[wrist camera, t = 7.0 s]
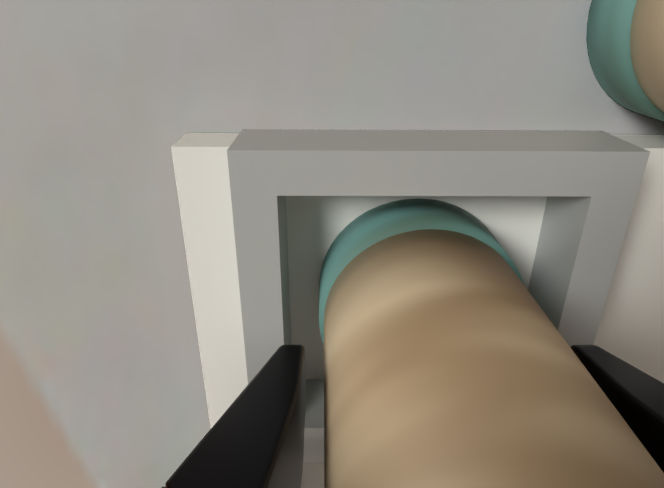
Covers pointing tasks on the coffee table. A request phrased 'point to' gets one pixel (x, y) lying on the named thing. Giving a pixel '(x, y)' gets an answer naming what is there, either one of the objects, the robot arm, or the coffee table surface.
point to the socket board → (408, 183)
